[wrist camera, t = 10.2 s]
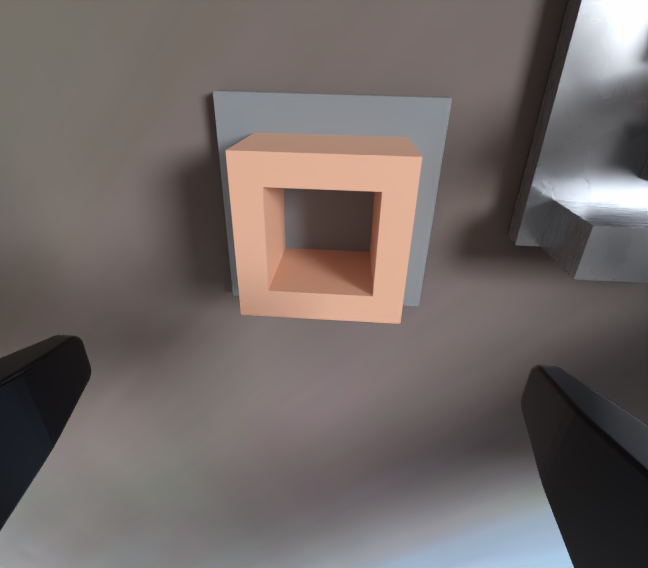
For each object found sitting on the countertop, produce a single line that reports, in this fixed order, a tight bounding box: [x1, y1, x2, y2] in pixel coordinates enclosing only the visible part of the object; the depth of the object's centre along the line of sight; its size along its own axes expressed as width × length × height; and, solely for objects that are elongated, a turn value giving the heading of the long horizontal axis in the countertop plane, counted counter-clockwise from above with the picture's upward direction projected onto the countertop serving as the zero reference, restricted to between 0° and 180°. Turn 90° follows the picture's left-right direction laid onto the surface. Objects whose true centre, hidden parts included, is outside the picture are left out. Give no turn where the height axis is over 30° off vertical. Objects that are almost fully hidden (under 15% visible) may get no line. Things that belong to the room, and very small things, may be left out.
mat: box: [213, 91, 452, 306], centre depth 17 cm, size 9×9×1 cm
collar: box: [226, 132, 422, 324], centre depth 15 cm, size 6×6×4 cm
